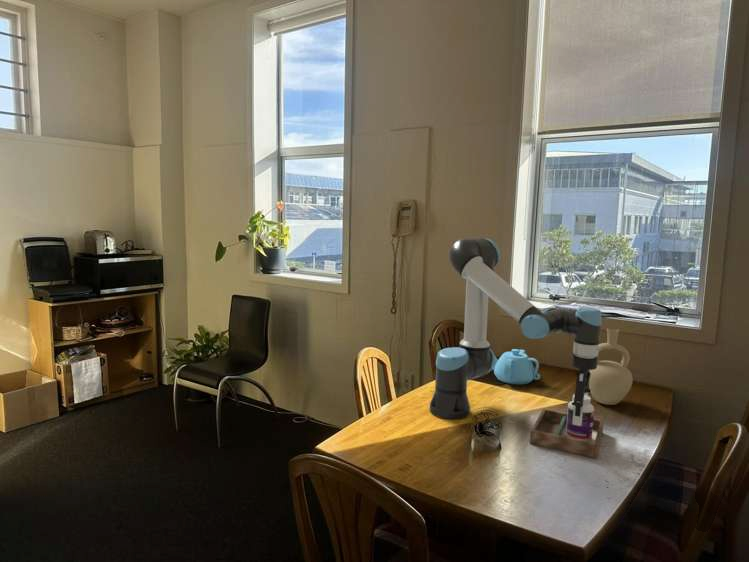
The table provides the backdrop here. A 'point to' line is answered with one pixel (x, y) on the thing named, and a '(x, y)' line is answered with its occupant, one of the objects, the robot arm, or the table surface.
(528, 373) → the teapot
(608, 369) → the vase
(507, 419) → the table surface
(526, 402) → the table surface
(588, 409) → the pill bottle
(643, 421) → the table surface
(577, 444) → the crate
